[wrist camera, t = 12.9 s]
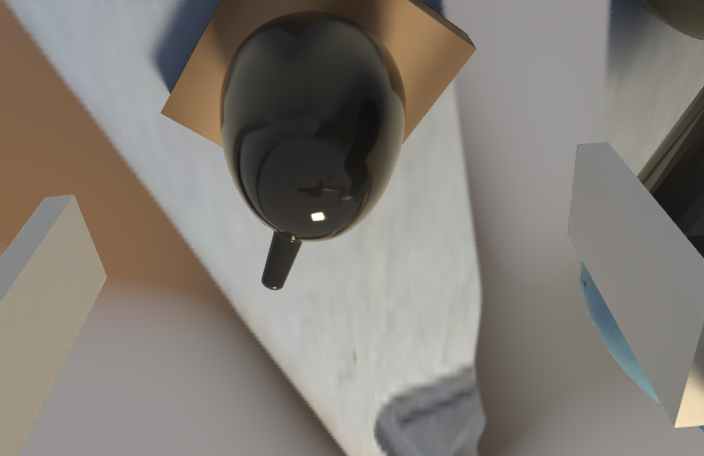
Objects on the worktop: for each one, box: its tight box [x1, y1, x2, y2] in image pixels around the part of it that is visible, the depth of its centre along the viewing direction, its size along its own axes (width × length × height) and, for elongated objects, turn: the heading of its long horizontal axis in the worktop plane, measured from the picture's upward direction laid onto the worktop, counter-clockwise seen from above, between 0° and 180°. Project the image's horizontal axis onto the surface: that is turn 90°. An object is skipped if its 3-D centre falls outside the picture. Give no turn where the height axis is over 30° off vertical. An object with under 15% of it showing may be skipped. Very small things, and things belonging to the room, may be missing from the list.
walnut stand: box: [161, 0, 476, 147], centre depth 40 cm, size 14×14×3 cm
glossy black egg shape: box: [219, 11, 406, 290], centre depth 32 cm, size 10×10×15 cm
